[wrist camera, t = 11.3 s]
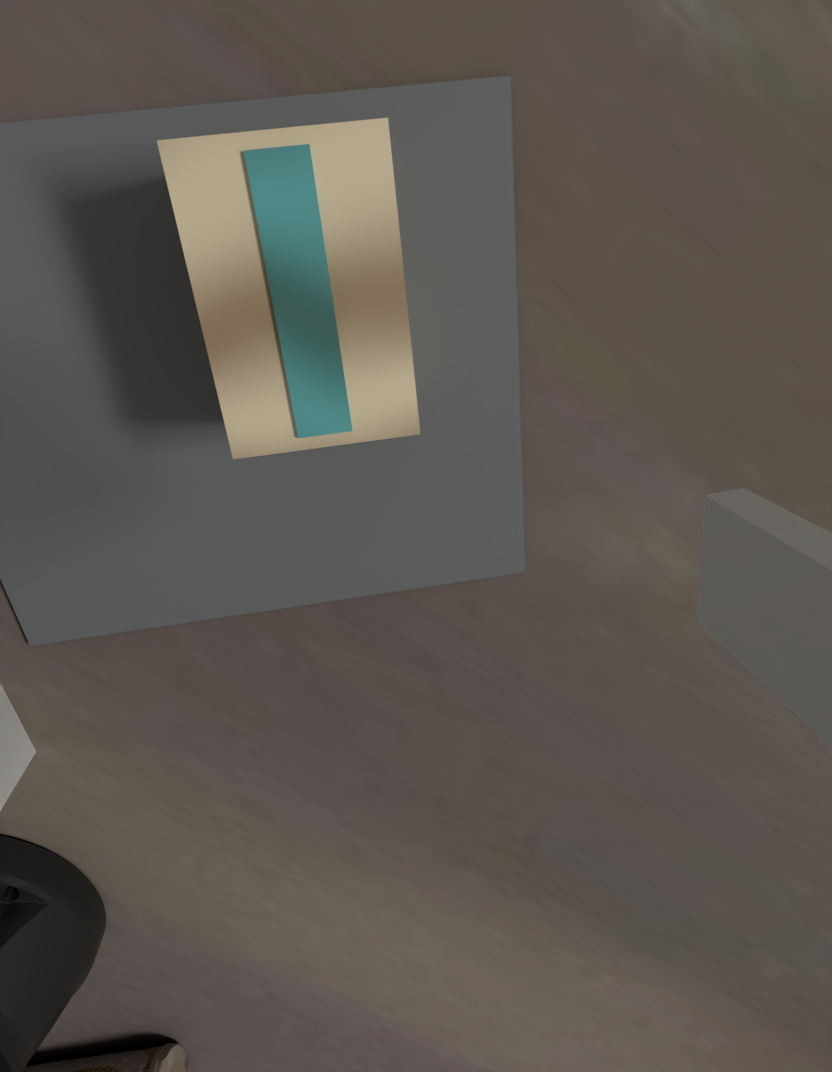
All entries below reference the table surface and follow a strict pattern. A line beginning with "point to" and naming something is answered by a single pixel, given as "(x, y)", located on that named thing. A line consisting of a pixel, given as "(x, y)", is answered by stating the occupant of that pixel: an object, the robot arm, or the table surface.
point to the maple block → (298, 282)
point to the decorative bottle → (123, 1062)
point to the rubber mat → (190, 393)
